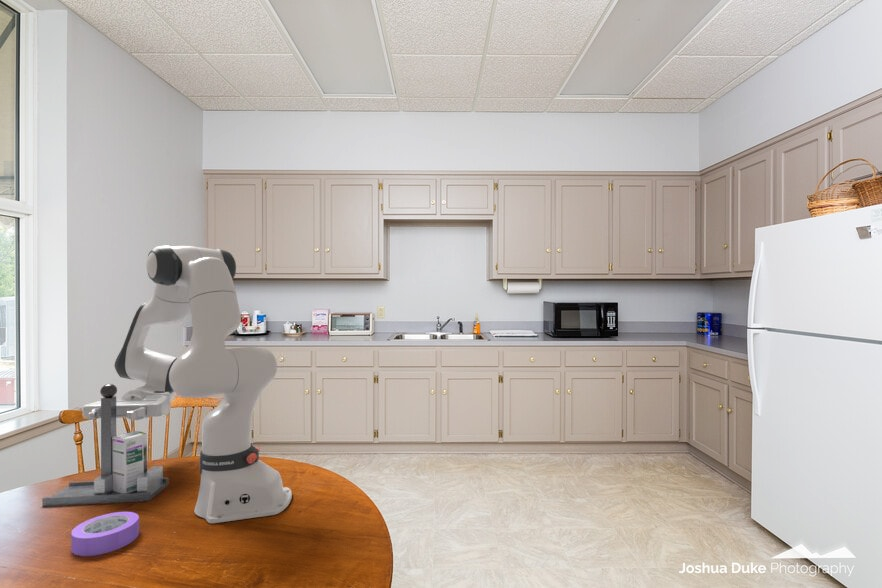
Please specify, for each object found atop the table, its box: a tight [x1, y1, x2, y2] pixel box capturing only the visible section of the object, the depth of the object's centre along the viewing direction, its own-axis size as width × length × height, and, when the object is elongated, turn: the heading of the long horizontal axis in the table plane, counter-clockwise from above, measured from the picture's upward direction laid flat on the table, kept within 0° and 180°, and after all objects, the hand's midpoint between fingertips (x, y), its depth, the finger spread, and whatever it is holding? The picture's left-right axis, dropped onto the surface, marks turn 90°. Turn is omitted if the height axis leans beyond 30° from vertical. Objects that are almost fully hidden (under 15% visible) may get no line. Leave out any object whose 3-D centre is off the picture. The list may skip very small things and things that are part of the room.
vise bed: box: [41, 465, 169, 507], centre depth 120 cm, size 25×10×6 cm, turn 97°
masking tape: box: [70, 511, 140, 557], centre depth 98 cm, size 12×12×4 cm
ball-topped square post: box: [93, 383, 118, 495], centre depth 120 cm, size 4×8×28 cm, turn 7°
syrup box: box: [112, 430, 148, 494], centre depth 121 cm, size 6×6×14 cm
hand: (110, 416), depth 120 cm, fingers open, 8 cm apart
